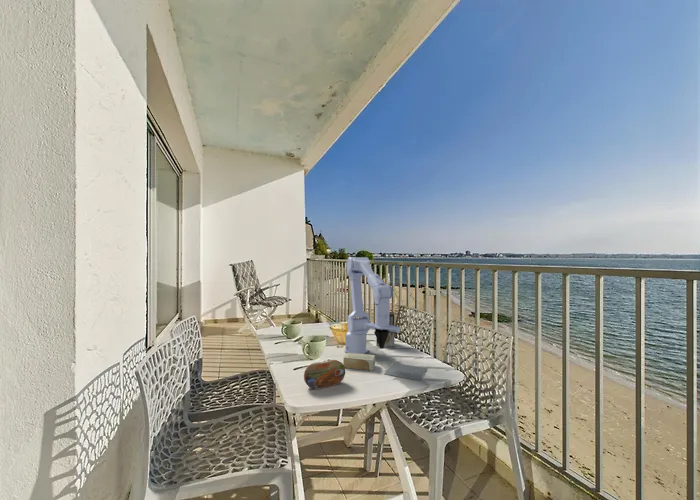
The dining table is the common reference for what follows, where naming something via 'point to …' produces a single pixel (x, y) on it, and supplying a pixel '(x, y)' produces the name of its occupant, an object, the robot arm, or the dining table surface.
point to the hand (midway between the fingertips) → (381, 347)
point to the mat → (406, 371)
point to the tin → (324, 374)
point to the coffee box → (390, 336)
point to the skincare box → (359, 361)
